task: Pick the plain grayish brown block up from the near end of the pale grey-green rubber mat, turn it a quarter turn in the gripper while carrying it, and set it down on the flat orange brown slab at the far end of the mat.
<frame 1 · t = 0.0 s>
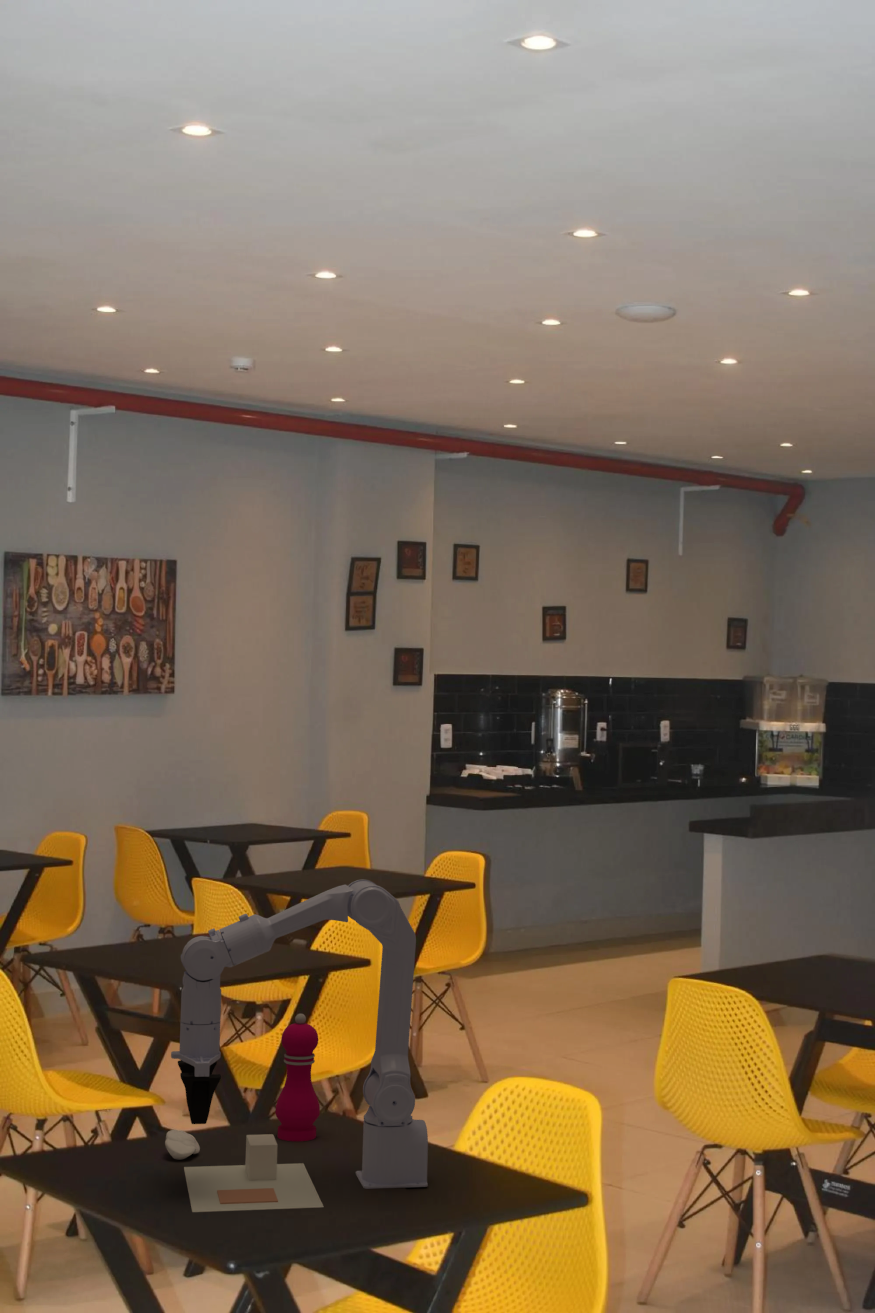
hand: (197, 1117, 222), 10 cm above the table, tool pointing down, fingers open, 7 cm apart
mat: (250, 1188, 222), on the table
pepper mill: (296, 1139, 251), on the table
plain grayish brown block: (260, 1174, 229), resting on mat
flat orange brown slab: (247, 1197, 217), resting on mat
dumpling: (181, 1160, 237), on the table
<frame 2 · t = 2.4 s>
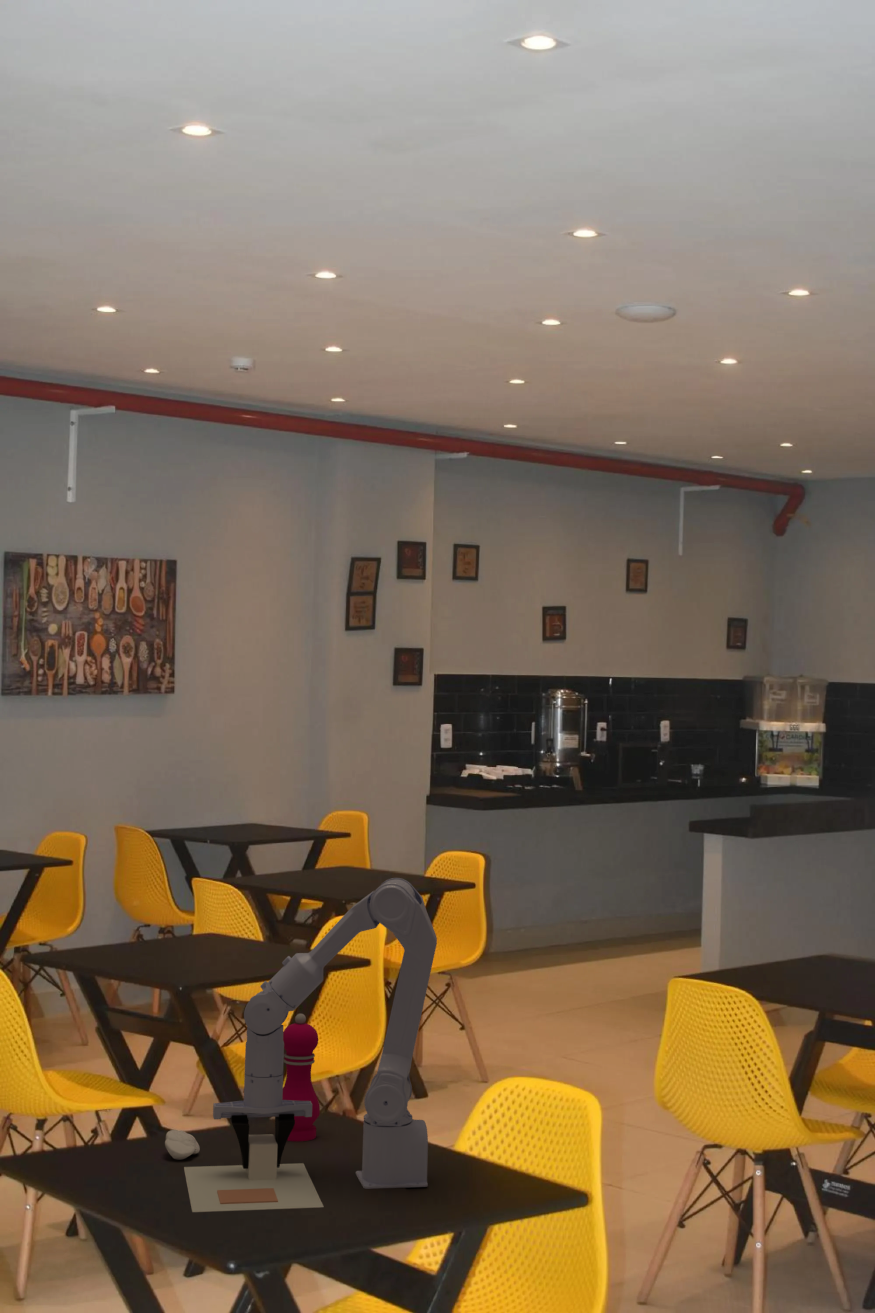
hand: (260, 1166, 229), 1 cm above the table, tool pointing down, fingers closed on plain grayish brown block, 4 cm apart
plain grayish brown block: (260, 1174, 229), resting on mat, touching gripper
everything else where it was.
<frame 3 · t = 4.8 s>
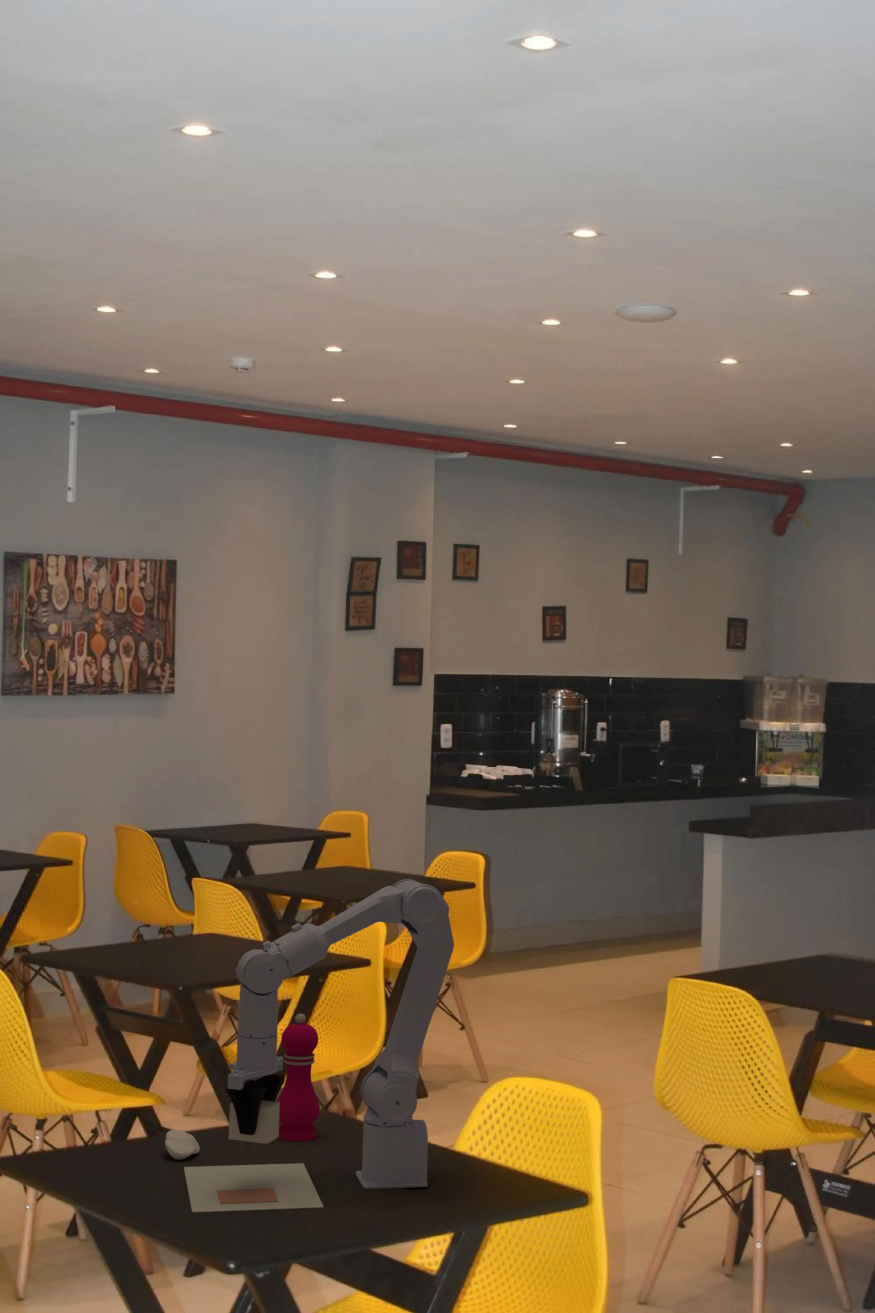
hand: (254, 1130, 222), 8 cm above the table, tool pointing down, fingers closed on plain grayish brown block, 4 cm apart
plain grayish brown block: (253, 1138, 222), point 7 cm above the table, touching gripper
everything else where it was.
when the fingers open (3 cm above the table, at t = 7.1 s): plain grayish brown block drops 1 cm, resting on flat orange brown slab.
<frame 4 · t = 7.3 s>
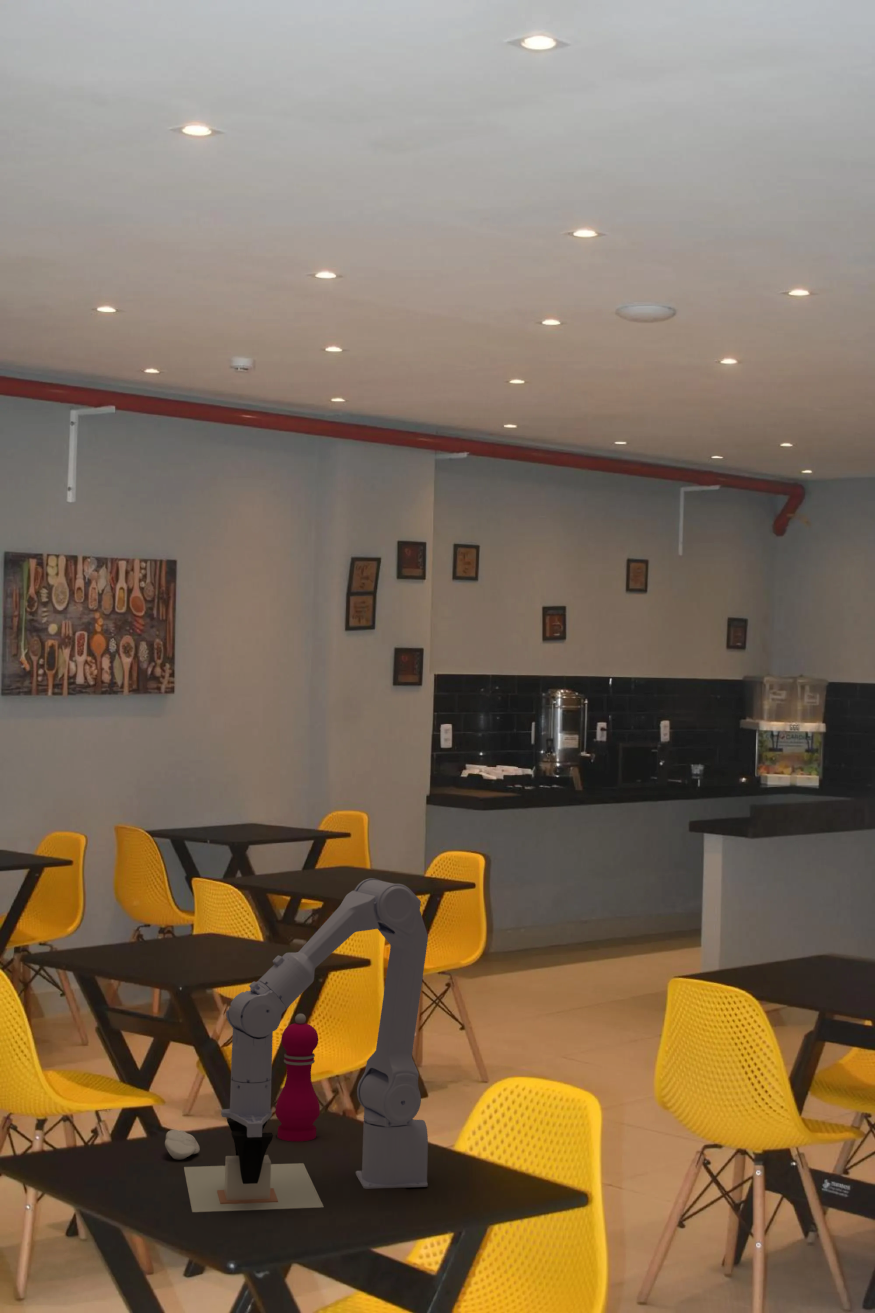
hand: (247, 1176, 217), 3 cm above the table, tool pointing down, fingers open, 6 cm apart
plain grayish brown block: (246, 1195, 217), resting on flat orange brown slab
everything else where it was.
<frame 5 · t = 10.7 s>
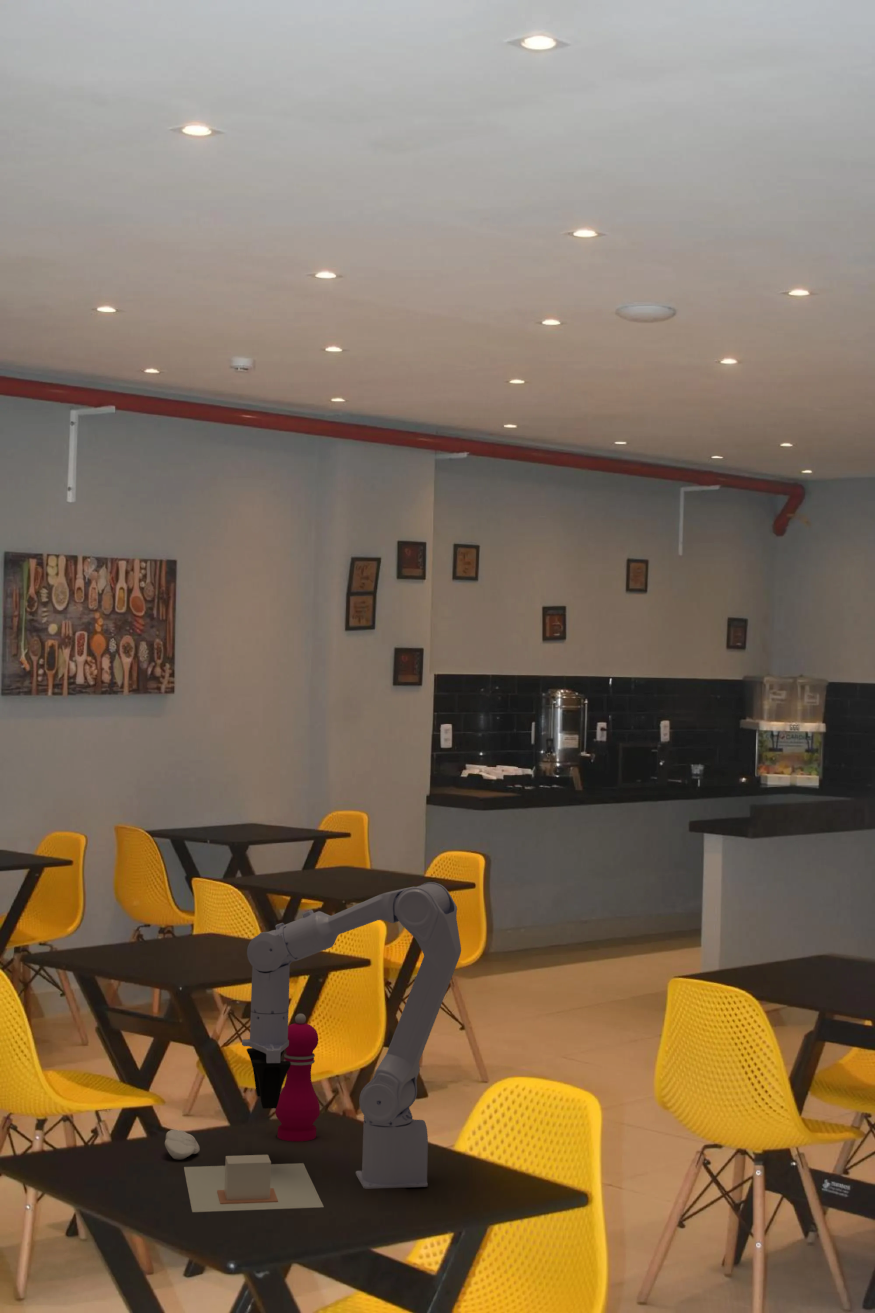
hand: (266, 1102, 233), 10 cm above the table, tool pointing down, fingers open, 7 cm apart
nothing on the table moved.
at the end: plain grayish brown block 0.0 cm from the target spot, point 0.5 cm above the table; the gripper is holding nothing; plain grayish brown block tilted 0° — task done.
